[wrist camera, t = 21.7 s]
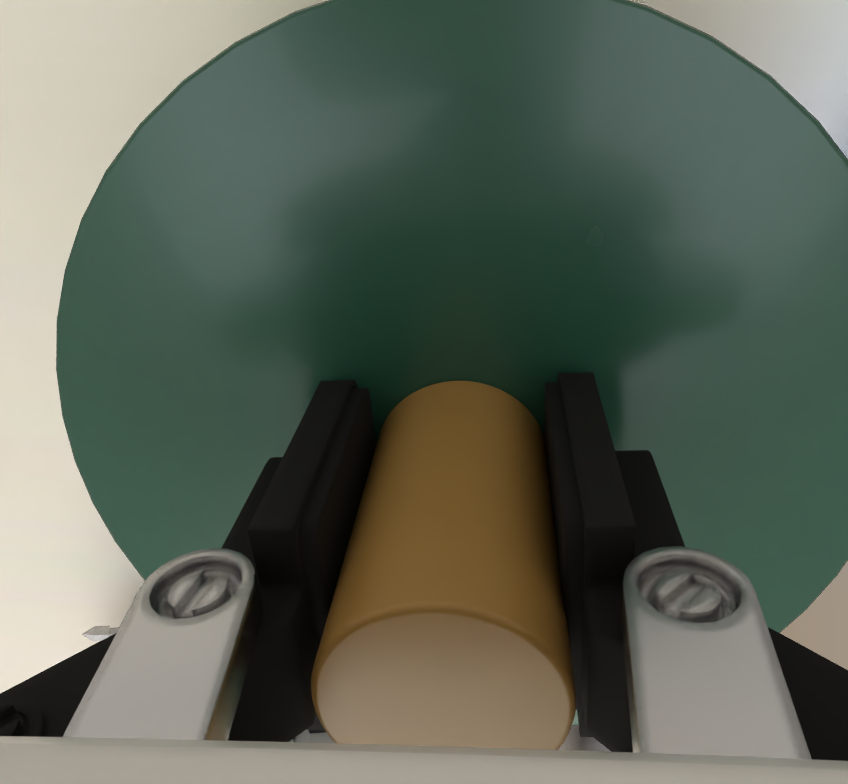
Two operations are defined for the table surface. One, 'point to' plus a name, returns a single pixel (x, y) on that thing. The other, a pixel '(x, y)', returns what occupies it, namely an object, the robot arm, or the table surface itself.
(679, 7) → the table surface
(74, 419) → the lid
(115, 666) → the robot arm
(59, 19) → the table surface
